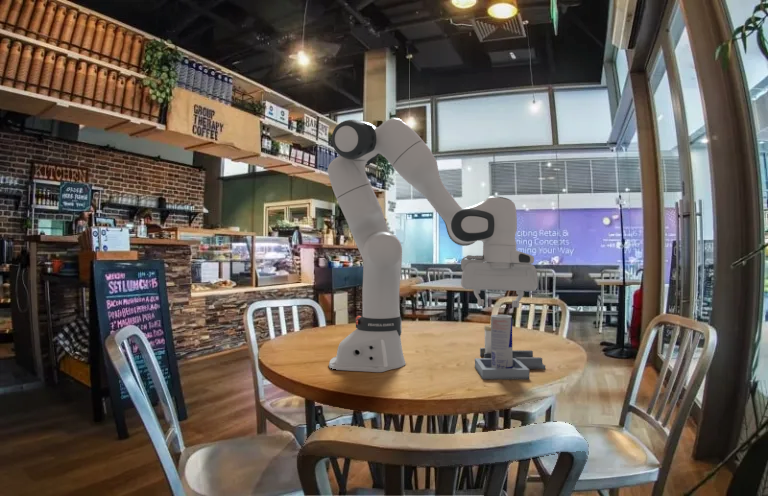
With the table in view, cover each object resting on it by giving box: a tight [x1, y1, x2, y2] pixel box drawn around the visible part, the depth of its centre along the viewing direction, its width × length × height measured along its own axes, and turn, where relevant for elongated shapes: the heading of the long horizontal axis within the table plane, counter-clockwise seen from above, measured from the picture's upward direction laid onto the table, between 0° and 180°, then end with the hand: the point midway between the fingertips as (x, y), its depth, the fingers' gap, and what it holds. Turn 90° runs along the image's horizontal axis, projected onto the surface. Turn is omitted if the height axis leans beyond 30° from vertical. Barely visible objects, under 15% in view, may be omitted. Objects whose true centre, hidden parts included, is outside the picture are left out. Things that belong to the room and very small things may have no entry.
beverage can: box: [490, 314, 513, 368], centre depth 118 cm, size 6×6×15 cm
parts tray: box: [474, 357, 531, 380], centre depth 117 cm, size 12×12×2 cm
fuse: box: [483, 324, 491, 353], centre depth 133 cm, size 5×5×10 cm
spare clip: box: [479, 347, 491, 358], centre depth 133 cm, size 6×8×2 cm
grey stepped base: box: [512, 349, 546, 370], centre depth 126 cm, size 8×10×3 cm
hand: (498, 306), depth 118 cm, fingers open, 8 cm apart
